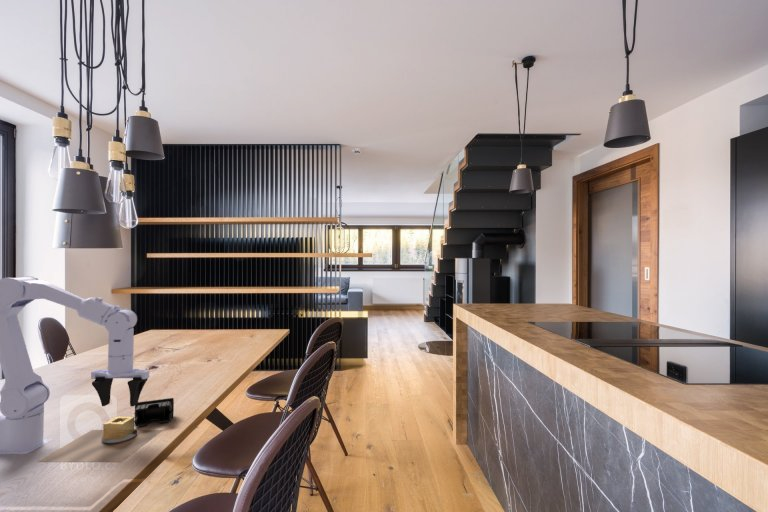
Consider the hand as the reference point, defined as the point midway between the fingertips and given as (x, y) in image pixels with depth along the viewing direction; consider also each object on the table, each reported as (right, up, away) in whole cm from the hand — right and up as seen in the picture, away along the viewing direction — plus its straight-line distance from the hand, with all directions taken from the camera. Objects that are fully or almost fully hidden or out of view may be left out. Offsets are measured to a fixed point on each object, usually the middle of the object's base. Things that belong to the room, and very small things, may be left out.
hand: (119, 405), depth 107 cm
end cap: (+3, -10, +11) cm, 15 cm away
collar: (0, -8, 0) cm, 8 cm away
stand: (0, -9, 0) cm, 9 cm away
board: (-1, -9, -4) cm, 10 cm away
